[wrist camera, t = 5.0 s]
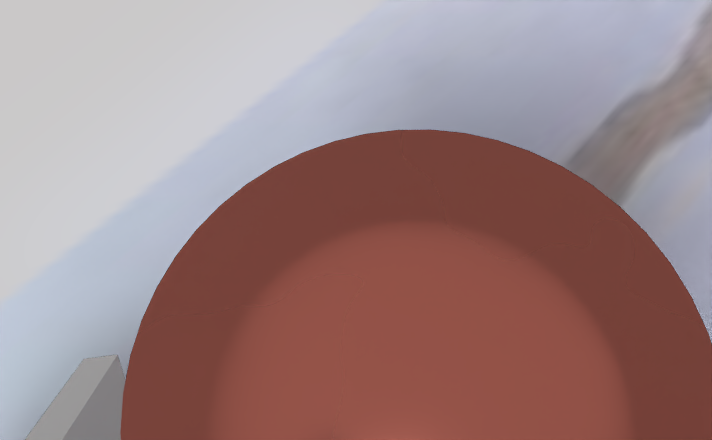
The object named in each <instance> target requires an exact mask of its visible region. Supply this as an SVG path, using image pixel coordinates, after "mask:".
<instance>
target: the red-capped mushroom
mask: <svg viewBox="0 0 712 440" xmlns="http://www.w3.org/2000/svg"><path fill="white" fill-rule="evenodd" d="M120 434H121V440H712V344H711V340H710V337H709V334H708V332H707V330H706V327H705V325H704V323H703V321H702V319H701V317H700V314H699V312H698V310H697V308H696V306H695V304H694V301H693V299H692V297H691V295H690V294H689V292H688V291H687V289H686V287H685V286H684V284H683V282H682V281H681V279H680V278H679V276H678V274H677V273H676V271H675V270H674V268H673V266H672V265H671V263H670V262H669V261H668V259H667V258H666V257H665V256H664V254H663V253H662V252H661V251H660V249H659V248H658V247H657V246H656V244H655V243H654V242H653V241H652V239H651V238H650V237H649V236H648V234H647V233H646V232H645V231H644V230H643V229H642V228H641V227H640V226H639V225H638V224H637V223H636V222H635V221H634V220H633V219H632V218H631V217H630V216H629V215H628V214H627V213H626V212H625V211H624V210H623V209H622V208H621V207H620V206H618V205H617V204H616V203H614V202H613V201H612V200H611V199H609V198H608V197H607V196H605V195H604V194H603V193H602V192H600V191H599V190H598V189H597V188H595V187H594V186H593V185H591V184H590V183H588V182H587V181H585V180H583V179H582V178H580V177H578V176H577V175H575V174H573V173H572V172H570V171H569V170H567V169H565V168H564V167H562V166H560V165H558V164H556V163H554V162H552V161H550V160H547V159H545V158H543V157H541V156H539V155H537V154H535V153H532V152H530V151H528V150H525V149H522V148H519V147H516V146H513V145H510V144H507V143H504V142H501V141H498V140H494V139H489V138H485V137H480V136H475V135H471V134H466V133H459V132H449V131H439V130H394V131H386V132H378V133H370V134H363V135H359V136H355V137H351V138H347V139H342V140H338V141H334V142H331V143H328V144H326V145H323V146H320V147H317V148H314V149H312V150H309V151H306V152H303V153H301V154H299V155H297V156H295V157H293V158H291V159H289V160H287V161H285V162H283V163H281V164H279V165H277V166H275V167H273V168H271V169H270V170H268V171H267V172H265V173H264V174H262V175H260V176H259V177H257V178H256V179H254V180H253V181H251V182H249V183H248V184H246V185H245V186H244V187H243V188H241V189H240V190H239V191H238V192H236V193H235V194H234V195H233V196H231V197H230V198H229V199H228V200H227V201H225V202H224V203H223V204H222V205H220V206H219V207H218V208H217V209H216V210H215V211H214V212H213V213H212V214H211V216H210V217H209V218H208V219H207V220H206V221H205V222H204V223H203V224H202V225H201V226H200V227H199V228H198V229H197V230H196V231H195V232H194V234H193V235H192V236H191V237H190V239H189V240H188V241H187V243H186V244H185V245H184V246H183V248H182V249H181V250H180V252H179V253H178V254H177V255H176V257H175V258H174V260H173V262H172V263H171V265H170V267H169V268H168V270H167V271H166V273H165V275H164V276H163V278H162V280H161V281H160V283H159V285H158V286H157V288H156V290H155V292H154V295H153V297H152V299H151V301H150V303H149V306H148V308H147V310H146V312H145V314H144V316H143V319H142V321H141V324H140V327H139V330H138V334H137V337H136V340H135V343H134V346H133V349H132V352H131V355H130V360H129V366H128V371H127V376H126V381H125V386H124V391H123V402H122V417H121V431H120Z"/></svg>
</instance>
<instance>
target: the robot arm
mask: <svg viewBox="0 0 712 440" xmlns="http://www.w3.org/2000/svg"><path fill="white" fill-rule="evenodd" d="M124 386H125V377H124V374H123V371H122V368H121V364H120V361H119V358H118V355H111V356H103V357H95V358H87V359H83V361H82V362H81V364H80V365H79V366H78V368H77V369H76V370H75V372H74V373H73V375H72V376H71V377H70V379H69V380H68V381H67V383H66V384H65V385H64V387H63V388H62V390H61V391H60V392H59V394H58V395H57V396H56V398H55V399H54V401H53V402H52V403H51V405H50V406H49V407H48V409H47V410H46V411H45V413H44V414H43V416H42V417H41V418H40V420H39V421H38V422H37V424H36V425H35V426H34V428H33V429H32V431H31V432H30V433H29V435H28V436H27V437H26V439H25V440H121V434H120V431H121V417H122V402H123V391H124Z"/></svg>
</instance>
